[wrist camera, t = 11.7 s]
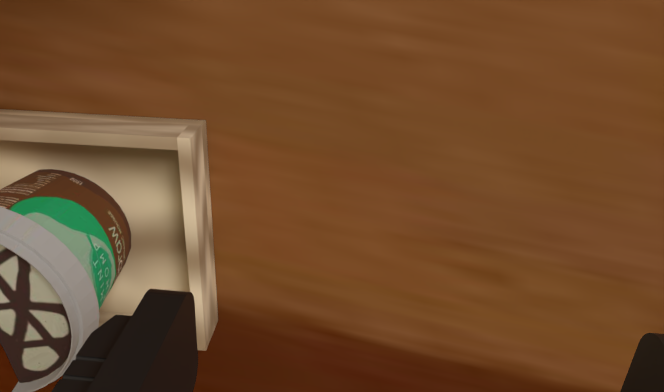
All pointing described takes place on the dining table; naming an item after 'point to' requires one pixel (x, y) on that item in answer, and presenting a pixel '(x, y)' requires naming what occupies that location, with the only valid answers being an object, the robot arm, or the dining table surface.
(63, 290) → the food container
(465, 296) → the dining table surface
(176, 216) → the whitewashed wooden tray
